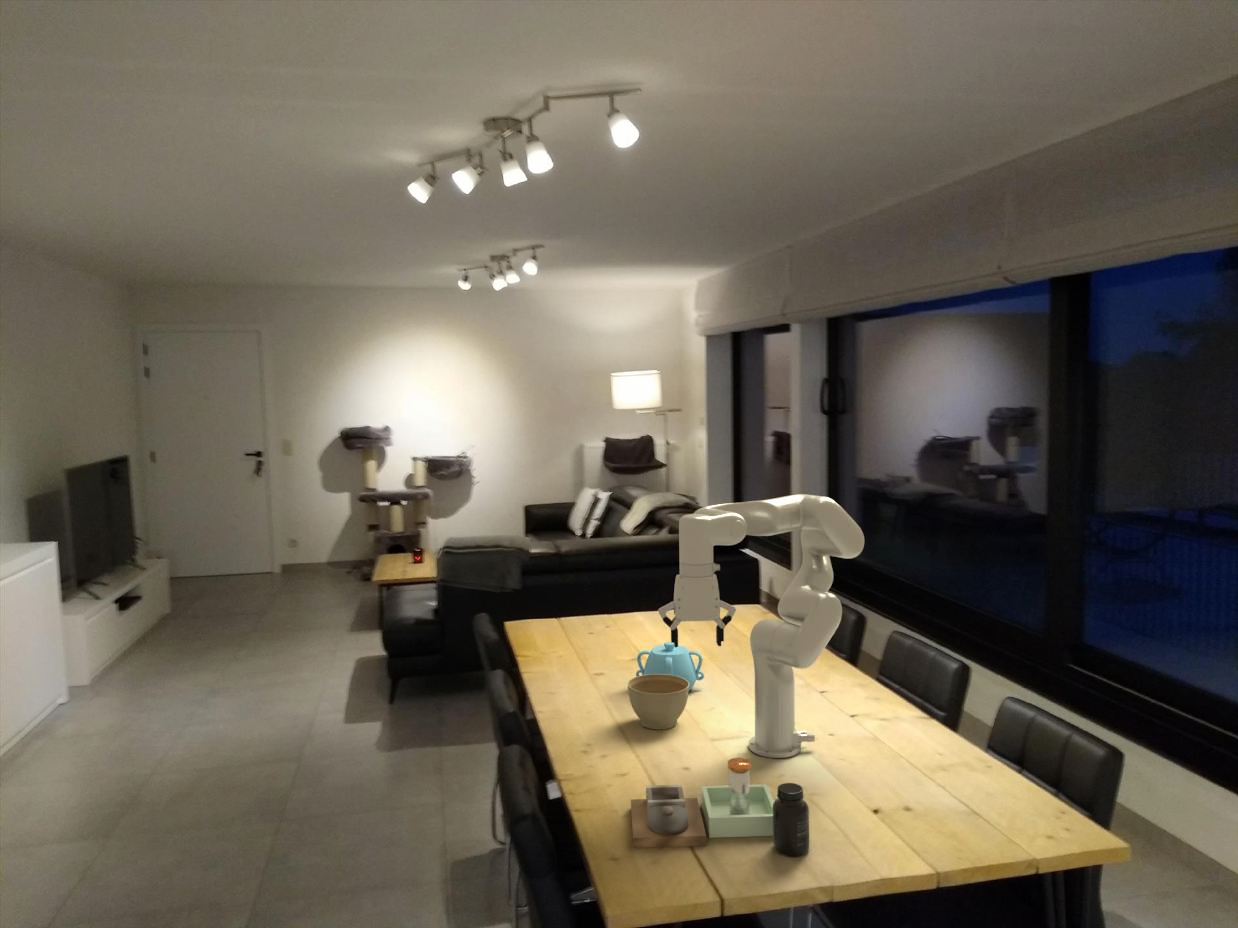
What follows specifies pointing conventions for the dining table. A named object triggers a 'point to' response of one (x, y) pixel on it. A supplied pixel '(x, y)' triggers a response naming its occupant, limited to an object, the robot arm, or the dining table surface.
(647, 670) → the decorative pot
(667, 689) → the planter bowl
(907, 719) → the dining table surface
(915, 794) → the dining table surface
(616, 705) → the dining table surface
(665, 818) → the wooden stand
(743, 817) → the tray
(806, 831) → the supplement bottle
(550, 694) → the dining table surface
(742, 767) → the jar with copper lid
